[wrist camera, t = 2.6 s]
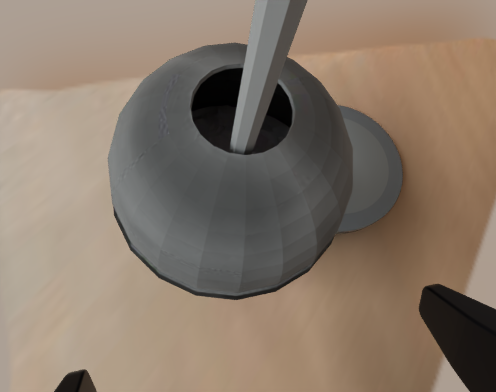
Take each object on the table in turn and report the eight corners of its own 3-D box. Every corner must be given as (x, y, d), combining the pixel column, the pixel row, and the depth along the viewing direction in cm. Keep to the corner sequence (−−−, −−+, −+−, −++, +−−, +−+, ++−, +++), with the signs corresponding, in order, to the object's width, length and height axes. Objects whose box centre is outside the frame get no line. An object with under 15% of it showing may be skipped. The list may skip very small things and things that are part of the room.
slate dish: (401, 235, 23) (412, 231, 22) (268, 231, 22) (271, 226, 21) (385, 117, 26) (394, 108, 25) (267, 109, 25) (269, 99, 24)
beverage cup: (273, 189, 23) (554, -348, 4) (282, 303, 21) (966, 218, 2) (162, 191, 22) (-93, -467, 3) (159, 309, 20) (-645, 269, 1)
